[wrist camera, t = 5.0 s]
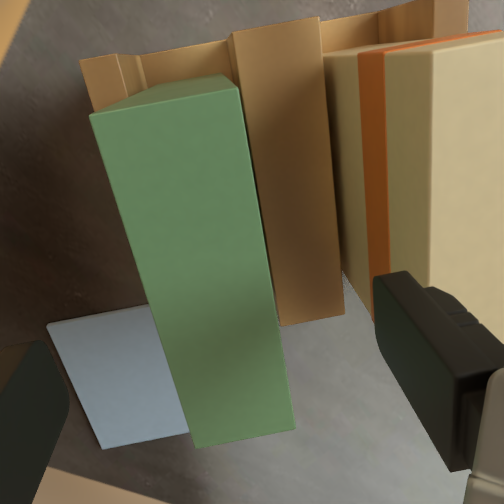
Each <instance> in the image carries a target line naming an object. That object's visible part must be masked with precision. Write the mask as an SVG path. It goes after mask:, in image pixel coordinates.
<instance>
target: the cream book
mask: <svg viewBox="0 0 504 504" xmlns="http://www.w3.org/2000/svg"><path fill="white" fill-rule="evenodd" d="M323 64H324V75H325V87H326V98H327V110H328V121H329V133H330V144H331V156H332V168H333V179H334V191H335V202H336V214H337V225H338V237H339V248H340V260H341V269H342V271H343V272H344V274H345V275H346V277H347V279H348V280H349V282H350V283H351V285H352V286H353V288H354V290H355V291H356V293H357V294H358V296H359V297H360V299H361V301H362V302H363V304H364V305H365V307H366V308H367V310H368V312H369V313H370V315H371V316H372V321H373V323H374V306H373V287H372V283H373V278H374V276H378V275H383V274H388V273H393V272H399V271H404V270H406V271H408V272H409V273H410V274H411V275H412V276H413V277H414V279H415V280H416V281H417V282H418V283H419V284H420V285H421V286H422V287H423V288H426V287H431V286H434V287H436V288H438V289H440V290H442V291H444V292H446V293H449V294H451V295H453V296H454V297H455V298H456V299H457V300H458V301H459V302H460V303H461V304H462V305H463V306H464V307H465V308H466V309H467V311H468V312H471V313H472V314H473V315H474V316H475V317H476V318H477V319H478V320H479V323H482V324H483V325H484V326H485V327H486V328H487V329H488V330H489V331H490V332H491V333H492V334H493V335H494V336H495V337H496V338H497V339H498V340H499V341H500V342H501V343H502V344H504V31H502V30H492V31H483V32H473V33H464V34H456V35H451V36H446V37H440V38H433V39H423V40H414V41H404V42H394V43H384V44H375V45H366V46H361V47H355V48H350V49H345V50H339V51H334V52H329V53H323Z"/></svg>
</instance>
